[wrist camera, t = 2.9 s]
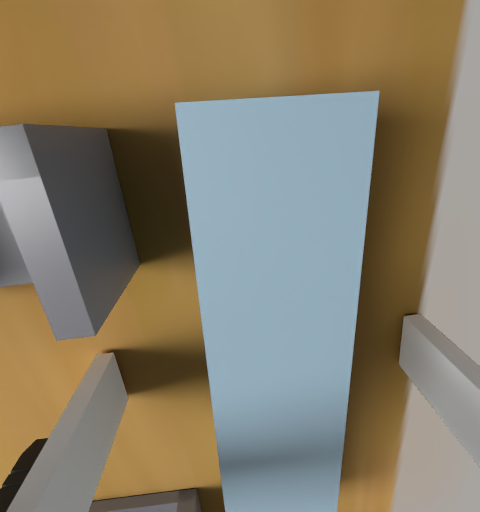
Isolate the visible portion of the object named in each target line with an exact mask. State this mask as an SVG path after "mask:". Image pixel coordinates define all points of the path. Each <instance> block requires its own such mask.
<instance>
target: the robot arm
mask: <svg viewBox="0 0 480 512" xmlns="http://www.w3.org/2000/svg"><path fill="white" fill-rule="evenodd" d="M399 365H400V367H401V368H402V369H403V370H404V372H405V373H406V374H407V376H408V377H409V378H410V379H411V381H412V382H413V383H414V385H415V386H416V387H417V388H418V390H419V391H420V392H421V393H422V395H423V396H424V397H425V399H426V400H427V401H428V402H429V404H430V405H431V406H432V408H433V409H434V410H435V411H436V413H437V414H438V415H439V416H440V418H441V419H442V420H443V422H444V423H445V424H446V425H447V427H448V428H449V429H450V430H451V432H452V433H453V434H454V435H455V437H456V438H457V439H458V441H459V442H460V443H461V445H462V446H463V447H464V448H465V450H466V451H467V452H468V453H469V455H470V456H471V457H472V459H473V460H474V461H475V462H476V464H477V465H478V466H479V468H480V366H479V365H477V364H476V363H475V362H474V361H473V360H472V359H471V358H470V357H468V356H467V355H466V354H465V353H464V352H463V351H462V350H461V349H459V348H458V347H457V346H456V345H455V344H454V343H452V341H450V340H449V339H448V338H447V337H446V336H445V335H444V334H443V333H441V332H440V331H439V330H438V329H437V328H436V327H435V326H433V325H432V324H431V323H430V322H429V321H428V320H427V319H425V318H424V317H423V316H422V315H421V314H417V315H409V316H404V320H403V329H402V338H401V347H400V357H399ZM127 402H128V396H127V392H126V389H125V386H124V383H123V380H122V377H121V374H120V371H119V368H118V365H117V361H116V358H115V355H114V352H113V353H105V354H97V355H96V356H95V358H94V360H93V361H92V363H91V365H90V367H89V368H88V370H87V372H86V374H85V375H84V377H83V379H82V381H81V382H80V384H79V386H78V388H77V389H76V391H75V393H74V395H73V396H72V398H71V400H70V402H69V403H68V405H67V407H66V409H65V410H64V412H63V414H62V415H61V417H60V419H59V421H58V422H57V424H56V426H55V428H54V429H53V431H52V433H51V435H50V436H49V438H45V439H37V440H35V441H34V442H33V443H32V444H31V445H30V446H29V447H28V448H27V449H26V450H25V451H24V452H23V453H22V454H21V456H20V458H19V459H18V461H17V462H16V464H15V466H14V467H13V469H12V470H11V474H10V475H8V477H7V478H6V480H5V481H4V483H3V485H2V488H1V489H0V512H89V509H90V506H91V503H92V500H93V497H94V495H95V492H96V489H97V486H98V483H99V481H100V478H101V475H102V472H103V469H104V466H105V464H106V461H107V458H108V455H109V452H110V449H111V447H112V444H113V441H114V438H115V435H116V433H117V430H118V427H119V424H120V421H121V418H122V416H123V413H124V410H125V407H126V404H127Z"/></svg>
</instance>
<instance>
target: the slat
mask: <svg viewBox="0 0 480 512" xmlns="http://www.w3.org/2000/svg"><path fill="white" fill-rule="evenodd" d="M379 92H380V91H367V92H350V93H333V94H316V95H299V96H282V97H265V98H248V99H231V100H214V101H197V102H180V103H175V110H176V118H177V126H178V134H179V142H180V150H181V158H182V167H183V175H184V183H185V191H186V199H187V207H188V215H189V223H190V231H191V239H192V247H193V255H194V263H195V271H196V279H197V288H198V296H199V304H200V312H201V320H202V328H203V336H204V344H205V352H206V360H207V368H208V376H209V384H210V392H211V400H212V409H213V417H214V425H215V433H216V441H217V449H218V457H219V465H220V473H221V481H222V489H223V497H224V505H225V512H337V506H338V496H339V486H340V476H341V466H342V456H343V447H344V437H345V427H346V417H347V407H348V397H349V387H350V378H351V368H352V358H353V348H354V338H355V328H356V319H357V309H358V299H359V289H360V279H361V269H362V259H363V250H364V240H365V230H366V220H367V210H368V200H369V190H370V181H371V171H372V161H373V151H374V141H375V131H376V122H377V112H378V102H379Z"/></svg>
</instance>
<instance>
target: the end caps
mask: <svg viewBox="0 0 480 512" xmlns="http://www.w3.org/2000/svg"><path fill="white" fill-rule="evenodd" d="M139 266H140V261H139V257H138V253H137V249H136V245H135V241H134V237H133V233H132V229H131V225H130V221H129V217H128V213H127V209H126V205H125V201H124V197H123V193H122V189H121V185H120V181H119V177H118V174H117V170H116V166H115V162H114V158H113V154H112V150H111V146H110V142H109V138H108V134H107V130H106V128H90V127H71V126H52V125H33V124H17V125H8V126H0V287H4V286H12V285H21V284H29V283H33V284H34V287H35V289H36V292H37V294H38V297H39V299H40V302H41V304H42V307H43V309H44V311H45V314H46V316H47V319H48V321H49V324H50V326H51V329H52V331H53V334H54V336H55V339H56V341H57V340H65V339H74V338H82V337H90V336H96V334H97V333H98V331H99V329H100V328H101V326H102V325H103V323H104V321H105V320H106V318H107V317H108V315H109V313H110V312H111V310H112V309H113V307H114V306H115V304H116V302H117V301H118V299H119V298H120V296H121V294H122V293H123V291H124V290H125V288H126V286H127V285H128V283H129V282H130V280H131V278H132V277H133V275H134V274H135V272H136V271H137V269H138V267H139ZM89 512H202V508H201V505H200V501H199V497H198V493H197V489H188V490H180V491H172V492H164V493H157V494H149V495H141V496H133V497H125V498H117V499H110V500H102V501H94V502H92V503H91V506H90V509H89Z"/></svg>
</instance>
